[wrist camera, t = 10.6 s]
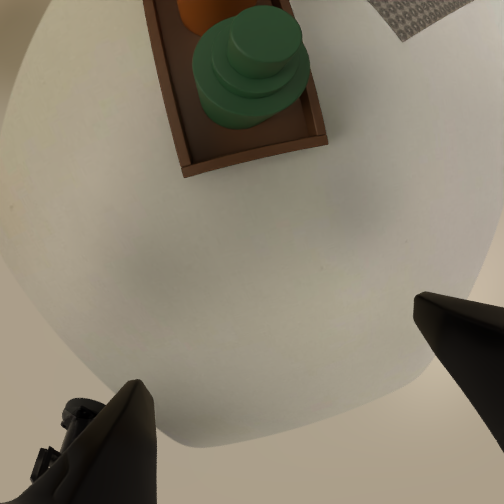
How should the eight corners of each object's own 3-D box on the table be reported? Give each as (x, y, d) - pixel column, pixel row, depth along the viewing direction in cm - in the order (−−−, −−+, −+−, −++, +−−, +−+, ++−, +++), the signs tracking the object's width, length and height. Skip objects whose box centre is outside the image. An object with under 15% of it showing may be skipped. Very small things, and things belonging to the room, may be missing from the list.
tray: (317, 144, 17) (329, 144, 15) (186, 175, 17) (183, 178, 15) (244, -80, 10) (247, -94, 8) (136, -60, 10) (131, -73, 8)
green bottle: (234, 144, 16) (260, 136, 7) (183, 92, 15) (152, 29, 6) (290, 98, 16) (370, 54, 7) (241, 47, 14) (272, -43, 5)
